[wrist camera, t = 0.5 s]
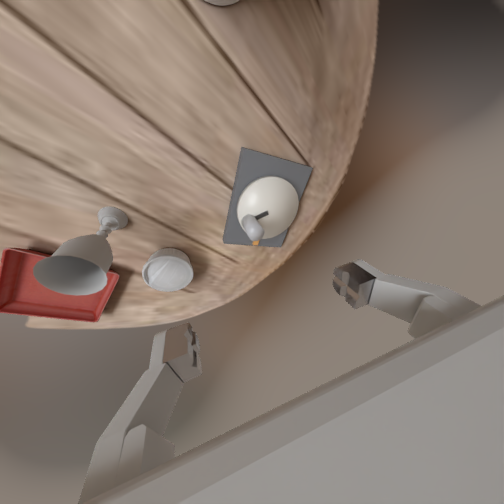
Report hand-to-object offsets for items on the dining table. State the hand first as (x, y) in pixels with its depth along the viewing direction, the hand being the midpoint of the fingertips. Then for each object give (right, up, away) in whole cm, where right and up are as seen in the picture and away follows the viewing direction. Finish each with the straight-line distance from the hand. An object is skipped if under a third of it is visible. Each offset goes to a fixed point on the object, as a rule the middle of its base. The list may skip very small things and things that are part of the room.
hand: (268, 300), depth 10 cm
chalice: (-30, +10, +28) cm, 42 cm away
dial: (+3, +13, +34) cm, 37 cm away
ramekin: (-22, 0, +38) cm, 44 cm away
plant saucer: (-44, -4, +33) cm, 56 cm away
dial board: (+2, +15, +36) cm, 39 cm away
